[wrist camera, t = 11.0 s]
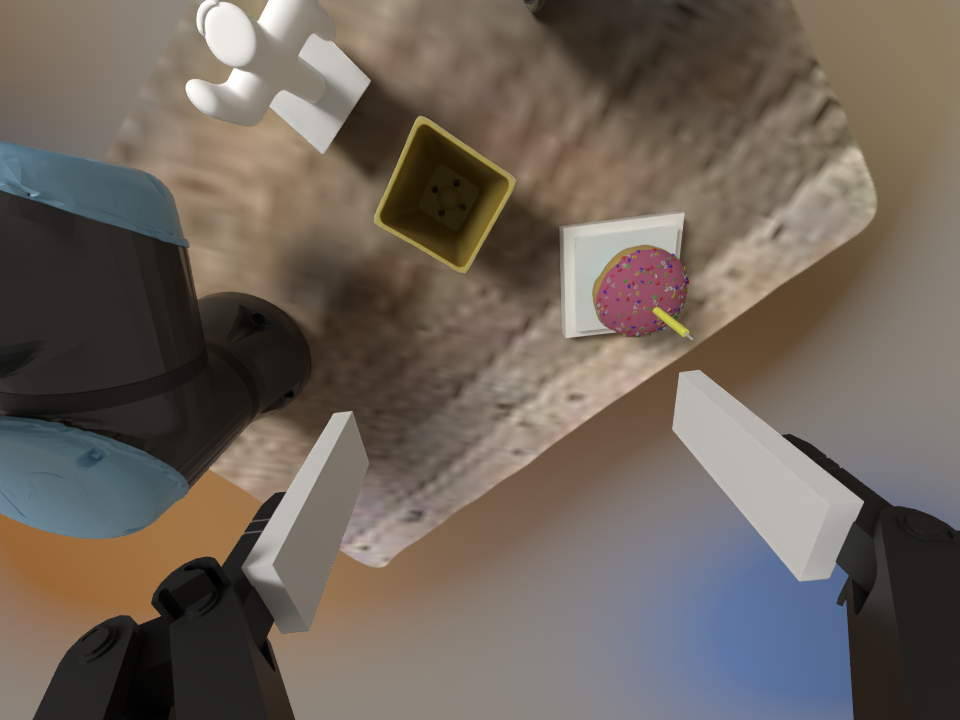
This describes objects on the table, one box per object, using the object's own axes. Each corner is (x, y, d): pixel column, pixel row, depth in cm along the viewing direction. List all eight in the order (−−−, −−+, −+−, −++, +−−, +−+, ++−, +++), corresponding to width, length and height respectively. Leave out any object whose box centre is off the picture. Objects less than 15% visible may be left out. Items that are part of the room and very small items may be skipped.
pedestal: (561, 331, 44) (567, 341, 41) (559, 226, 39) (565, 229, 36) (663, 319, 43) (676, 328, 40) (674, 211, 38) (689, 213, 35)
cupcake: (678, 285, 38) (758, 324, 28) (609, 336, 41) (658, 390, 30) (634, 220, 36) (705, 235, 25) (564, 279, 38) (600, 316, 27)
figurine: (388, 80, 33) (328, 5, 19) (331, 167, 36) (243, 155, 22) (319, 8, 31) (197, -132, 17) (263, 107, 34) (122, 53, 20)
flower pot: (509, 181, 37) (519, 180, 29) (466, 258, 40) (465, 276, 32) (431, 129, 35) (418, 112, 27) (393, 214, 38) (370, 222, 30)
